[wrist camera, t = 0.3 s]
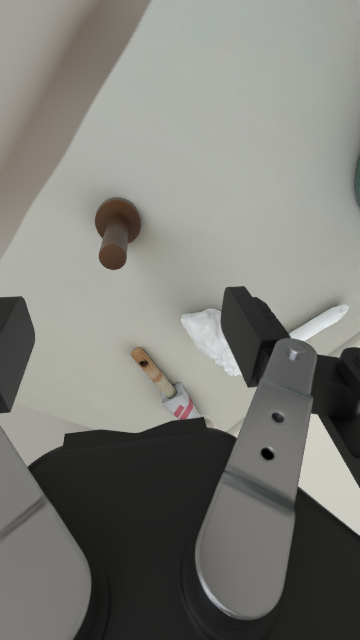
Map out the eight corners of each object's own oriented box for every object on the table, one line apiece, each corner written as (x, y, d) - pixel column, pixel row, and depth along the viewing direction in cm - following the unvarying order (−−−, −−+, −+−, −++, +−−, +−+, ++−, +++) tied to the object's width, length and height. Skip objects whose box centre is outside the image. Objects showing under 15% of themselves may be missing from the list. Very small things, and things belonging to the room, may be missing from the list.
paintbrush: (188, 435, 51) (124, 363, 41) (186, 422, 54) (126, 351, 43) (207, 427, 51) (148, 351, 40) (205, 414, 53) (148, 340, 43)
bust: (234, 336, 47) (295, 347, 37) (211, 377, 45) (270, 400, 35) (185, 290, 41) (244, 290, 31) (156, 336, 39) (210, 349, 29)
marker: (342, 296, 42) (352, 305, 40) (347, 306, 43) (357, 314, 41) (238, 360, 47) (242, 371, 45) (244, 367, 48) (249, 378, 46)
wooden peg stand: (86, 213, 31) (68, 249, 23) (123, 188, 30) (118, 215, 22) (114, 249, 34) (107, 293, 25) (148, 227, 33) (153, 265, 24)
